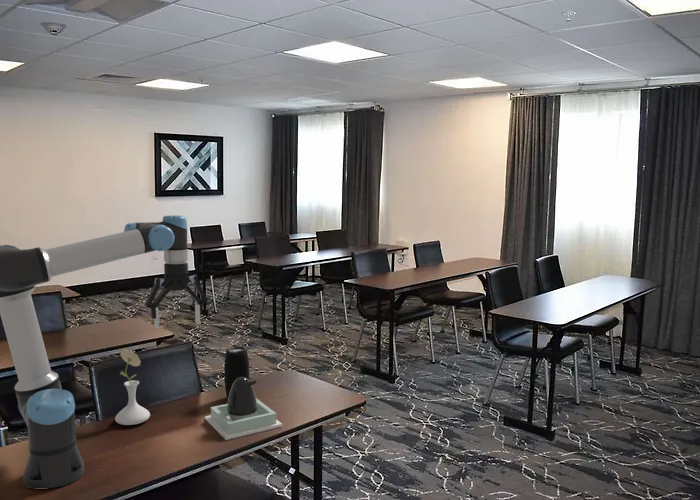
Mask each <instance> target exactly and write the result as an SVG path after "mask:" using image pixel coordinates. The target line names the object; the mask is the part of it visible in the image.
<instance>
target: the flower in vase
mask: <svg viewBox="0 0 700 500" xmlns="http://www.w3.org/2000/svg"><path fill="white" fill-rule="evenodd" d="M120 357H121V358H122V360H123V361H124V362H125V363H126V367H125V370H124V371H123V370H121V371H120V373H119V375H120V376H123V377H125V378H127V380H128V381H125V382H124V383H123V386H124V387H125V388H126V390H127V393H128V395H127V397H128V401H127V404H126V406H125V407H123V408H122V409H121V410H120V411H118V412H117V414H116V415H115V418H114V420H115V421H116V423H117V424H119V425H124V426H132V425H133V426H134V425H139V424H142V423H144V422H146V421H147V420H148V419H149V418H150V417H151V413H150V411H149V410H148V409H146V408H145V407H143V406H141V405H140V404H139V403H138V402H137V398H136V392H137V387H138V386H139V384H140V381H139V380H132V379H133V378H135V377H136V376H137V375H138V373H136V374H133V375H132V376H131V377H129V376H128V372H127V370H128V365H131V366H132V367H139V366H141V363H142V362H141V360H140V358H139V355H138V354H136V352H133V350H132V349H130V350H128V349H126V348H125V349H123V350H121V351H120Z"/></svg>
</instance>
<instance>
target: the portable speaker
mask: <svg viewBox="0 0 700 500" xmlns="http://www.w3.org/2000/svg"><path fill="white" fill-rule="evenodd" d="M249 360H250V359H249V356H248V349H247V348H246V347H245V346H241V345H236V346H235V347H234V346H233V347H231V348H226V349H225V358H224V361H223V362H224V368H223V369H224V370H223V371H224V372H223V373H224V375H223V376H224V377H223V378H224V379H223V380H224V381H223V382H224V387H225V388H224V389H225V394H226V398H227V399H228V397H229V393H230V390H231V387H232V385H233V383H234V381H235V380H236V379H237V378H239V377H245V378H247V379H248V380H249V381H250V361H249Z"/></svg>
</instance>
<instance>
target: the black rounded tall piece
mask: <svg viewBox="0 0 700 500" xmlns="http://www.w3.org/2000/svg"><path fill="white" fill-rule="evenodd" d="M257 383H258V381H257V380H256V379H255V380H251V381H250V379H249V380H248V379H247V378H245V377H239V378H237V379H236V380H235V381H234V383H233V385H232V387H231V390H230V393H229V397H228V398H227V403H226V404H227V412H228V414H229V417H230V418H231V419H232V420H233V421H236V420H240V419H245V418H249V417H254V416H255V414H256V411H257V401H256V398H257V396H256V393H255V390H254V387H253V386H254V385H255V384H257Z"/></svg>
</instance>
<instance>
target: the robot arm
mask: <svg viewBox="0 0 700 500" xmlns="http://www.w3.org/2000/svg"><path fill="white" fill-rule="evenodd" d="M155 251H157V252H163V261H164V262H165V263H164V264H163V269H164V277H163V278H158V277H155V278H154V280H153V281H154V282H153V286H152V288H151V290H150V293H149V295H148V297H147V298H146V301H145V303H144V306H145V307H146V308H147V309H150V315H151V316H150V317H151V318H152V319H154V328H155V329H156V330H160V316H159V315H160V314H159V313H160V311H159V308H158V306H159V305H160V304H161V302H162V301H163V300H164V299H165V297H166V296H167V294H168V293H170V292H171V291H172V292H176V291H183V290H185V291H186V292H187V294H189V295H190V296H191V297H192V298H193V299H194V300H195V302H196V303H194V312H195V314H194V316H195V317H194V320H195V321H194V322H195V323H196V324H197V325H199V324H201V314H203V312H204V311H203V307H204V306H203V304H204V303H207V302H208V301H209V299H208V297H207V295H206V293H205V291H204V289H203V288H202V286H201V284H200V282H199V277H198V275H197V274H196V275H195V274H192V275H190V276H189V264H188V261H189V257H188V255H189V254H188V223H187V218H186V217H185V215H177V214H174V215H172V214H171V215H164V216H163V217H162V220H161V221H159V222H156V221H153V222H131V223H130V222H128V223H127V224H126V225H125V226H124V229H123V231H122V232H118V233H114V234H108V235H104V236H101V237H95V238H91V239H87V240H86V239H85V240H82V241H78V242H74V243H69V244H64V245H61V246H55V247H51V248H47V249H45V248H42V247H41V246H38V247H34V248H29V249H26V248H25V249H20V248H18V247H17V246H15V245H9V244H2V245H0V318H1V321H2V326H3V328H4V332H5V337H6V340H7V343H8V347H9V350H10V354H11V358H12V361H13V365H14V368H15V372H16V375H17V379H18V381H17V382H16V383H15V385H14V386H13V387H14V391H15V395H16V399H17V403H18V404H17V408H18V411H19V413H20V415H21V416H22V419H23V420H24V422H25V424H26V426H27V437H28V438H27V439H28V458H27V460H26V464H25V466H24V467H25V468H24V470H23V474H22V475H23V477H22V478H23V479H22V480H23V485H24V484H25V485H26V486H28V487H31V488H53V489H55V488H54V487H58V488H60V487H59V486H61V487H64V485H65V486H67V485H69V483H70V484H71V483H73V482H76V481H77V480H79V479H80V478H81V477H82V476H83V475H84V473H85V463H84V460H83V458H82V455H81V454H80V451H79V449H78V447H77V441H76V440H77V437H76V434H77V433H76V413H75V409H76V403H75V399H74V395H73V393H72V392H70V391H69V390H66V389H63V387H62V384H61V380H60V376H59V373H57V372H54V371H53V370H52V368H51V365H50V361H49V357H48V355H47V350H46V347H45V346H46V345H45V342H44V340H43V339H44V338H43V335H42V331H41V327H40V324H39V320H38V317H37V313H36V312H37V311H36V309H35V304H34V301H33V298H32V293H33V292H34V290H35V289H36V286H37V285H40V284H44V283H48V282H51V280H52V278H53V277H57V276H60V275H65V274H68V273H72V272H76V271H79V270H83V269H88V268H91V267H95V266H99V265H104V264H108V263H112V262H115V261H119V260H122V259H127V258H130V257H135V256H138V255H142V254H147V253H152V252H155ZM189 282H192V283H193V285H194V287H195V289H196V291H197V292H198V294H199V296H200V297H199V296H198V295H197V294H196V293H195V291H193V289H192V288H191V287H190V286H189V285H188V283H189ZM162 284H164V285H165V286H164V287H163V288H162V290H161V292H160V293H159V294H158V295H157V293H158V291H159V290H160V289H159V288H160V287H161V286H162ZM155 297H156V298H155ZM25 485H24V486H25ZM26 486H25V487H26ZM28 487H27V488H28Z"/></svg>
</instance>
